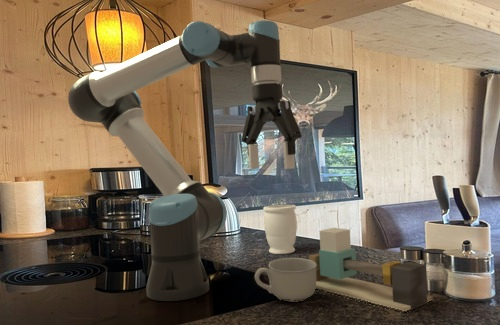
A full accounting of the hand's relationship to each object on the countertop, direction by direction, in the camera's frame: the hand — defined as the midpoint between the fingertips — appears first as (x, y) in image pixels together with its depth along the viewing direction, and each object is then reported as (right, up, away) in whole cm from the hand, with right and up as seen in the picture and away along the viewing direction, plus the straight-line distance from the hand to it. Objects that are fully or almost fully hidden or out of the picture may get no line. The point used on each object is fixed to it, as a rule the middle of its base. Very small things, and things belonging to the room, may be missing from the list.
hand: (271, 168), depth 119 cm
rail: (+20, -28, -13) cm, 37 cm away
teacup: (+3, -29, -14) cm, 32 cm away
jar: (+5, -28, +35) cm, 45 cm away
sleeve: (+16, -25, -8) cm, 30 cm away
